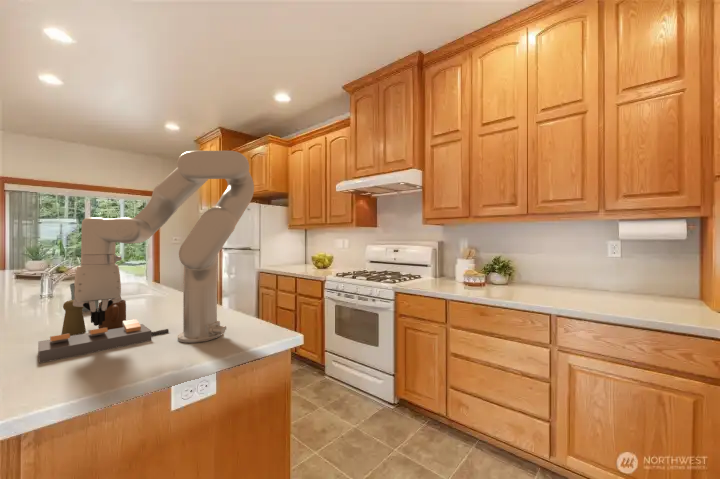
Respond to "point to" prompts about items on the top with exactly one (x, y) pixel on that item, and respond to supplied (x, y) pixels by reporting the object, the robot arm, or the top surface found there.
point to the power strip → (93, 343)
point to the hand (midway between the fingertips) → (97, 324)
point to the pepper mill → (73, 319)
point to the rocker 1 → (59, 338)
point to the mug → (114, 315)
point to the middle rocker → (98, 331)
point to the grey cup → (73, 298)
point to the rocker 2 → (131, 325)
